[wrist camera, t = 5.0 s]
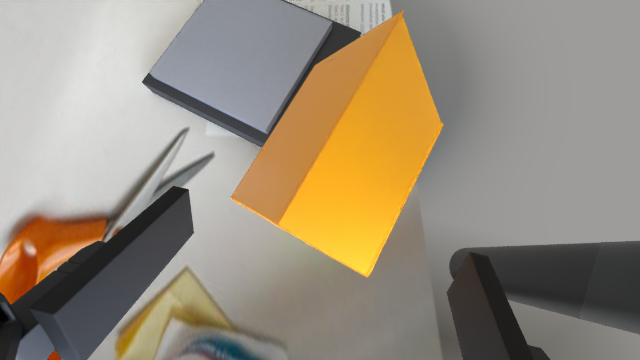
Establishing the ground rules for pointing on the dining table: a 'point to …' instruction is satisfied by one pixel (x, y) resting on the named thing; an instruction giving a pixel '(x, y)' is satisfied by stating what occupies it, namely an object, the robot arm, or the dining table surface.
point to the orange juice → (348, 148)
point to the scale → (245, 62)
